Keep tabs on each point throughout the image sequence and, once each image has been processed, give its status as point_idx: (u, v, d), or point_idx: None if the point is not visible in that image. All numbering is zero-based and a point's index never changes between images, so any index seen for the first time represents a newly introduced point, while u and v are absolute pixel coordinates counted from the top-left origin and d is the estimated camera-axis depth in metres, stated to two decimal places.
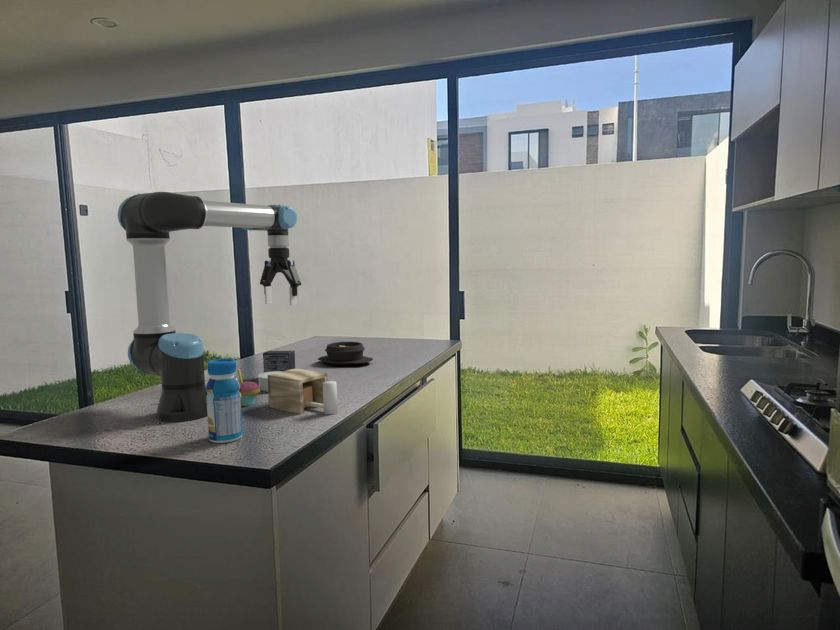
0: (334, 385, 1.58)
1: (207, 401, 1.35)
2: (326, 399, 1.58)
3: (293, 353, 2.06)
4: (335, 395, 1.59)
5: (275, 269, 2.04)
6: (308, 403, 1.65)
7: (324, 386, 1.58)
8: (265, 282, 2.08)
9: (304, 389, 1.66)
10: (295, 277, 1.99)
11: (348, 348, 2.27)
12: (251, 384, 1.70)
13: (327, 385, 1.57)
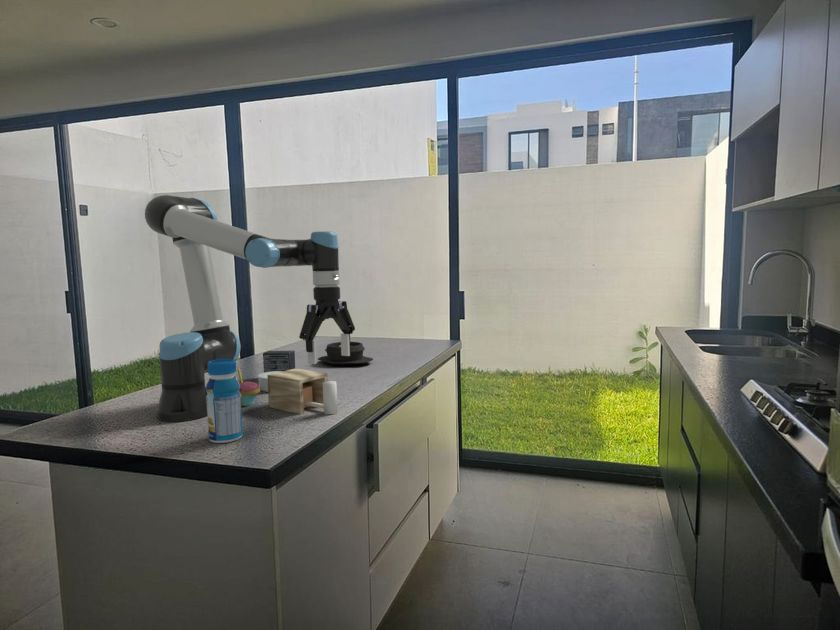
0: (334, 385, 1.58)
1: (207, 401, 1.35)
2: (326, 399, 1.58)
3: (293, 353, 2.06)
4: (335, 395, 1.59)
5: None
6: (308, 403, 1.65)
7: (324, 386, 1.58)
8: None
9: (304, 389, 1.66)
10: (303, 328, 1.50)
11: None
12: (251, 384, 1.70)
13: (327, 385, 1.57)
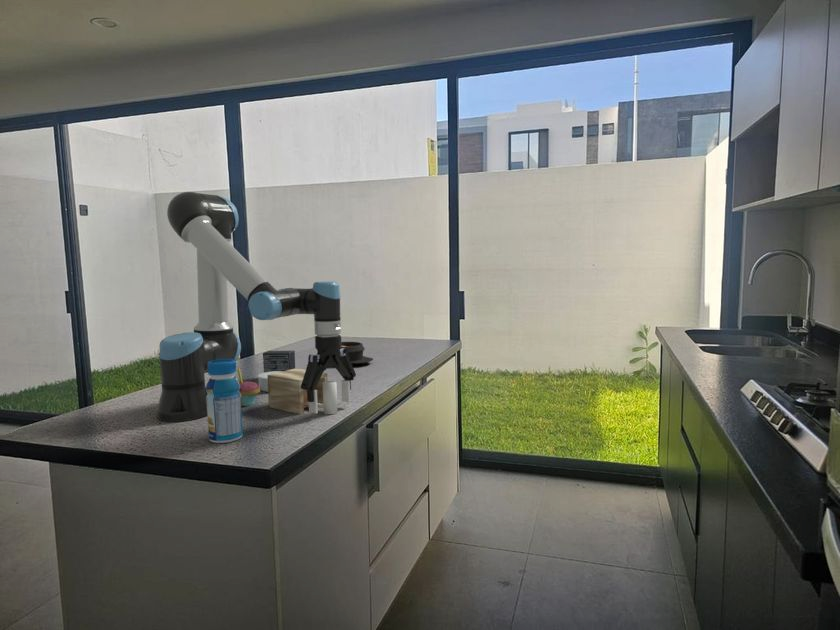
0: (334, 385, 1.58)
1: (207, 401, 1.35)
2: (326, 399, 1.58)
3: (293, 353, 2.06)
4: (335, 395, 1.59)
5: None
6: (308, 403, 1.65)
7: (324, 386, 1.58)
8: None
9: (304, 389, 1.66)
10: (304, 378, 1.52)
11: (348, 348, 2.27)
12: (251, 384, 1.70)
13: (327, 385, 1.57)
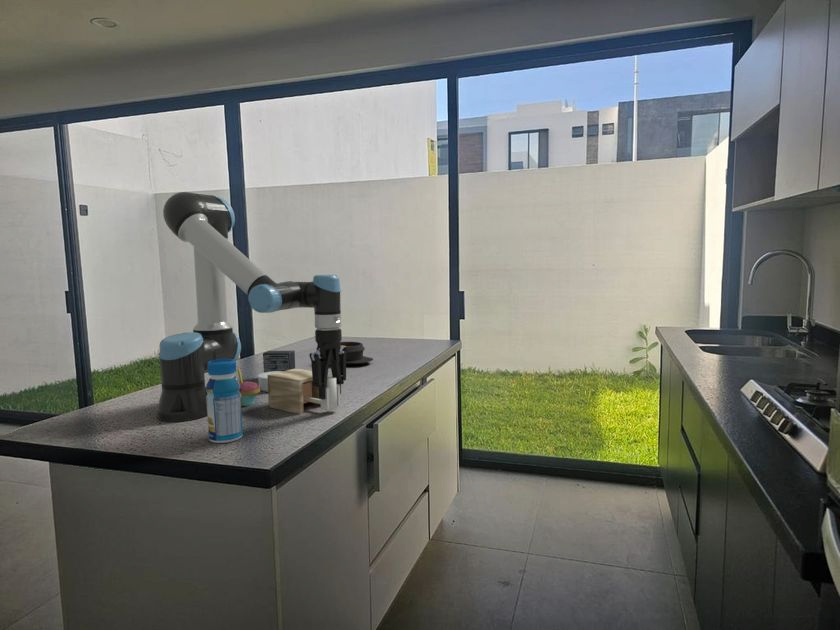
0: (334, 381, 1.58)
1: (207, 401, 1.35)
2: None
3: (293, 353, 2.06)
4: (335, 391, 1.59)
5: None
6: (308, 399, 1.64)
7: None
8: None
9: (304, 385, 1.65)
10: (313, 377, 1.55)
11: (348, 348, 2.27)
12: (251, 384, 1.70)
13: (327, 381, 1.57)
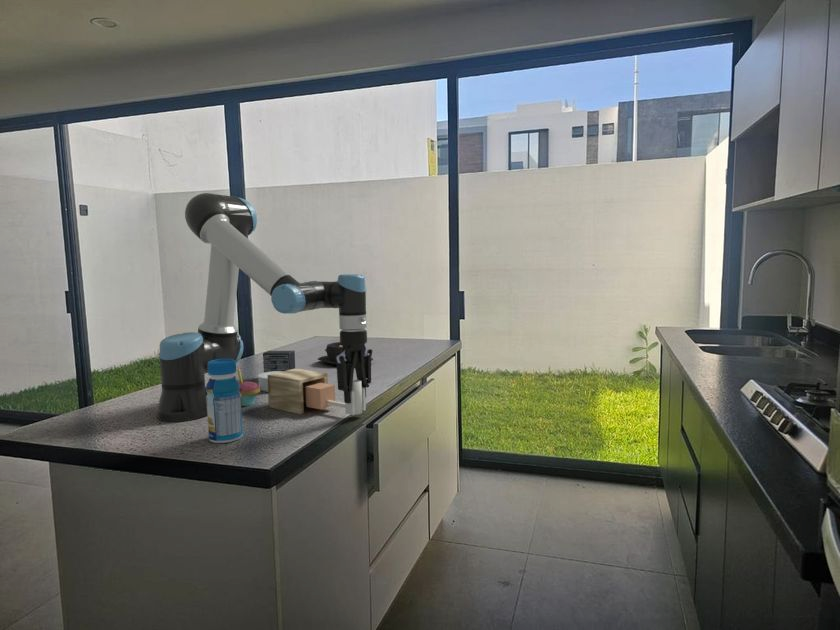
0: (359, 384, 1.53)
1: (207, 401, 1.35)
2: None
3: (293, 353, 2.06)
4: (360, 394, 1.53)
5: None
6: (331, 402, 1.59)
7: None
8: None
9: (327, 388, 1.60)
10: (339, 380, 1.49)
11: None
12: (251, 384, 1.70)
13: (352, 384, 1.52)
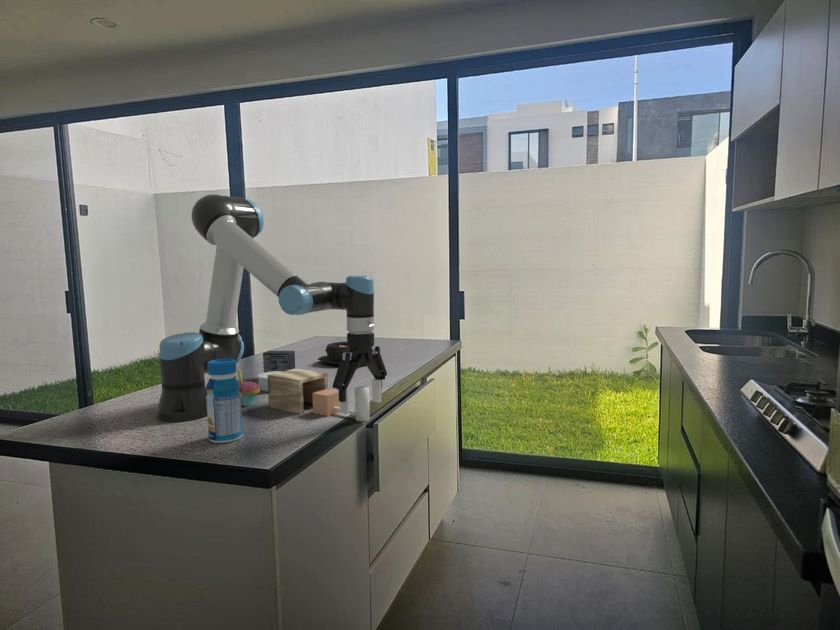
0: (367, 390, 1.51)
1: (207, 401, 1.35)
2: (359, 405, 1.51)
3: (293, 353, 2.06)
4: (368, 401, 1.52)
5: None
6: (338, 409, 1.58)
7: (356, 392, 1.51)
8: None
9: (334, 394, 1.58)
10: (336, 377, 1.45)
11: (348, 348, 2.27)
12: (251, 384, 1.70)
13: (360, 390, 1.50)
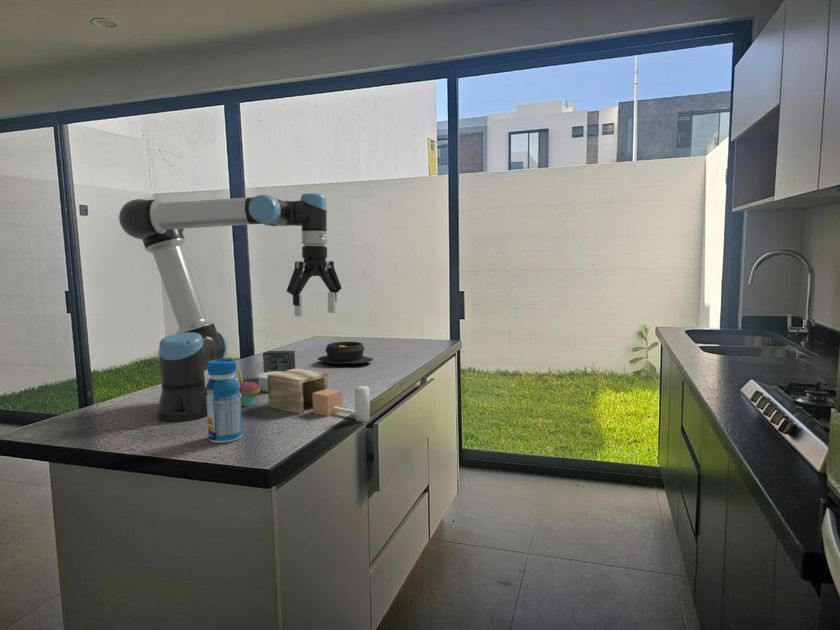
0: (367, 390, 1.51)
1: (207, 401, 1.35)
2: (359, 405, 1.51)
3: (293, 353, 2.06)
4: (368, 401, 1.52)
5: None
6: (338, 409, 1.58)
7: (356, 392, 1.51)
8: None
9: (334, 394, 1.58)
10: (290, 282, 1.61)
11: (348, 348, 2.27)
12: (251, 384, 1.70)
13: (360, 390, 1.50)
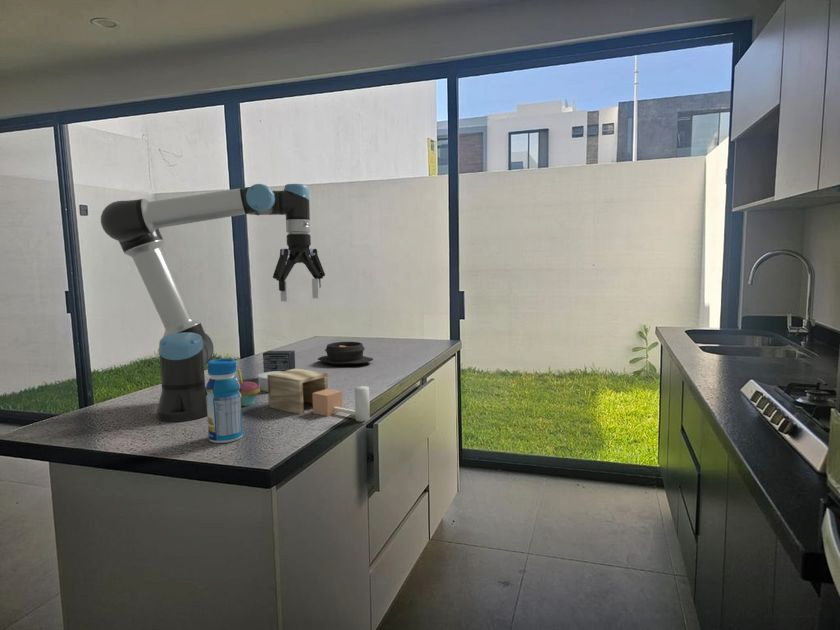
0: (367, 390, 1.51)
1: (207, 401, 1.35)
2: (359, 405, 1.51)
3: (293, 353, 2.06)
4: (368, 401, 1.52)
5: None
6: (338, 409, 1.58)
7: (356, 392, 1.51)
8: None
9: (334, 394, 1.58)
10: (276, 269, 1.69)
11: (348, 348, 2.27)
12: (251, 384, 1.70)
13: (360, 390, 1.50)
